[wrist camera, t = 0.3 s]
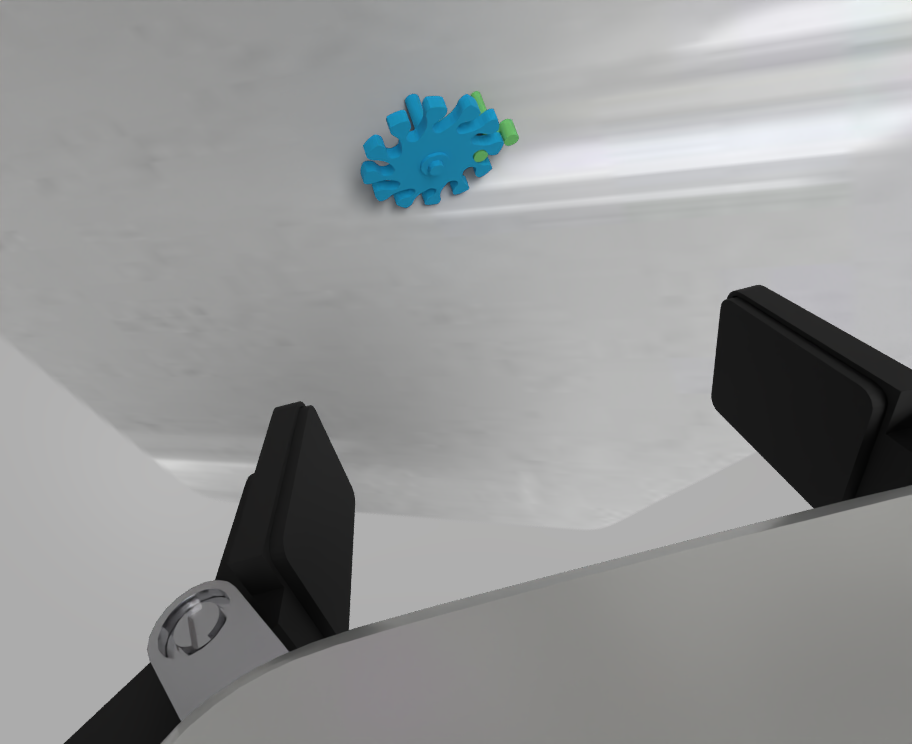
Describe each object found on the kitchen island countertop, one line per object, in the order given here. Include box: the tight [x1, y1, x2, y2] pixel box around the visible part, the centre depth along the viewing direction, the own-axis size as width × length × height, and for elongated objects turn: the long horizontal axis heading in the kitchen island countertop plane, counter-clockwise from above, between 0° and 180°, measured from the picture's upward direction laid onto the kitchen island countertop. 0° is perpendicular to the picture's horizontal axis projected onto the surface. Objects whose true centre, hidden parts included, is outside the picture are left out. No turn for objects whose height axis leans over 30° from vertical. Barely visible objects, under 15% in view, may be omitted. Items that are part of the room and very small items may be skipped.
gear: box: [361, 91, 519, 208], centre depth 34 cm, size 11×6×10 cm
